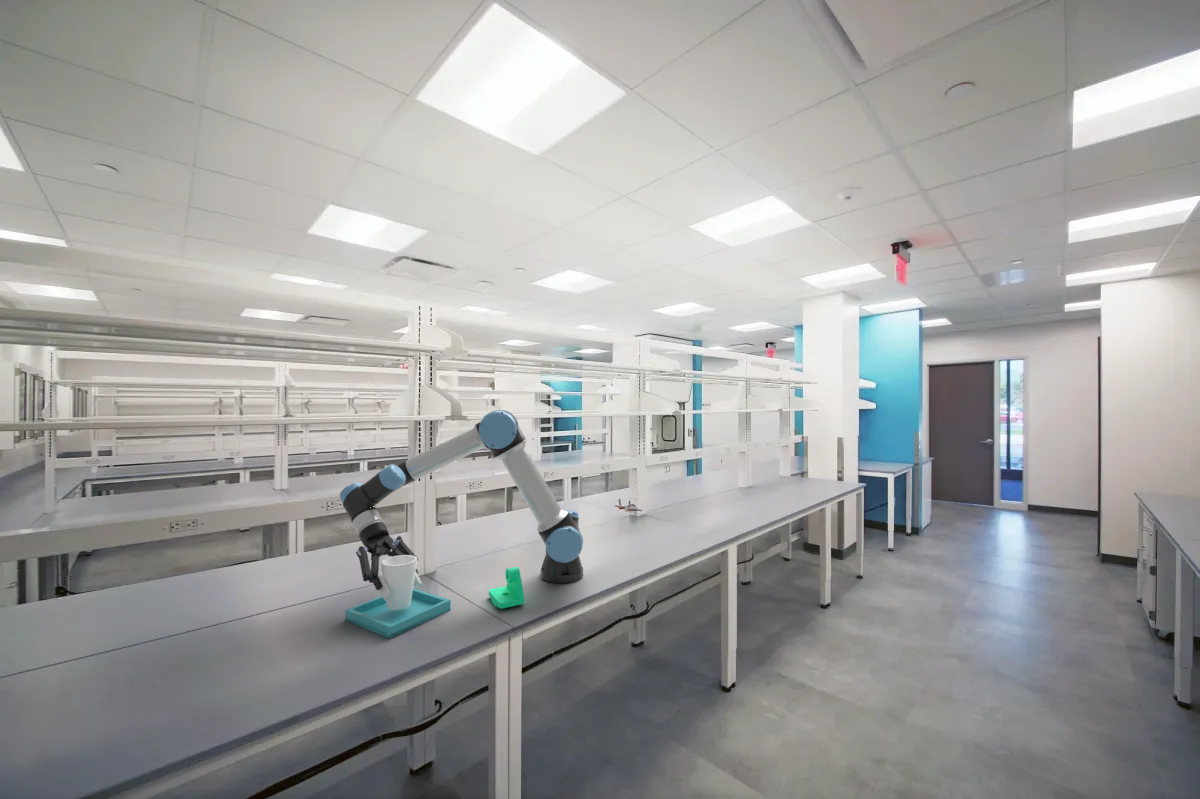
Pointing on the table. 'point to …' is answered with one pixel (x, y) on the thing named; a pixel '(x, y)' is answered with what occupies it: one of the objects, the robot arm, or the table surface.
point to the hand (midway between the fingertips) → (404, 591)
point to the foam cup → (399, 580)
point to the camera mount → (508, 590)
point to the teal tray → (397, 613)
